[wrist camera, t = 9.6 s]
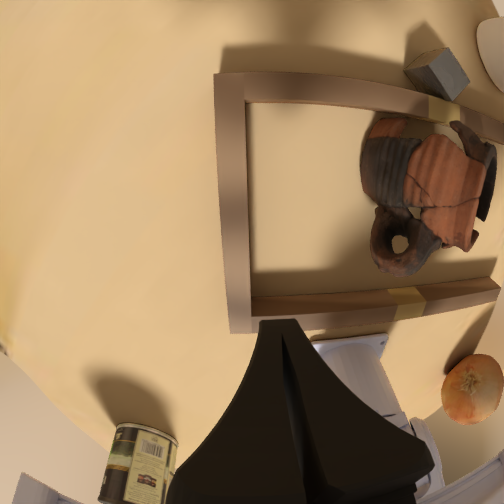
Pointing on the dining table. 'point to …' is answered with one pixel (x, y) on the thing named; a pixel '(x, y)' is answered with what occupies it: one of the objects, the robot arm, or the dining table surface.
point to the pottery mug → (425, 192)
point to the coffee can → (139, 466)
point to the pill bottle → (492, 48)
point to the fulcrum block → (438, 74)
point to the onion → (472, 389)
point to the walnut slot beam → (236, 201)
